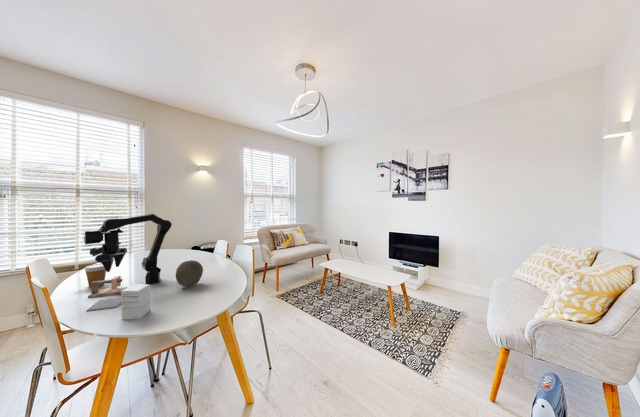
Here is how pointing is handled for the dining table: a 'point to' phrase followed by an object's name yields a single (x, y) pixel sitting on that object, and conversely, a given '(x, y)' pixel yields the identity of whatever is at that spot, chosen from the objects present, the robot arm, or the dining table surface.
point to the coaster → (105, 304)
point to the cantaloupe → (189, 273)
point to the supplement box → (135, 301)
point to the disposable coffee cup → (95, 273)
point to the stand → (104, 292)
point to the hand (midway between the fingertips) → (112, 269)
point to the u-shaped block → (115, 282)
